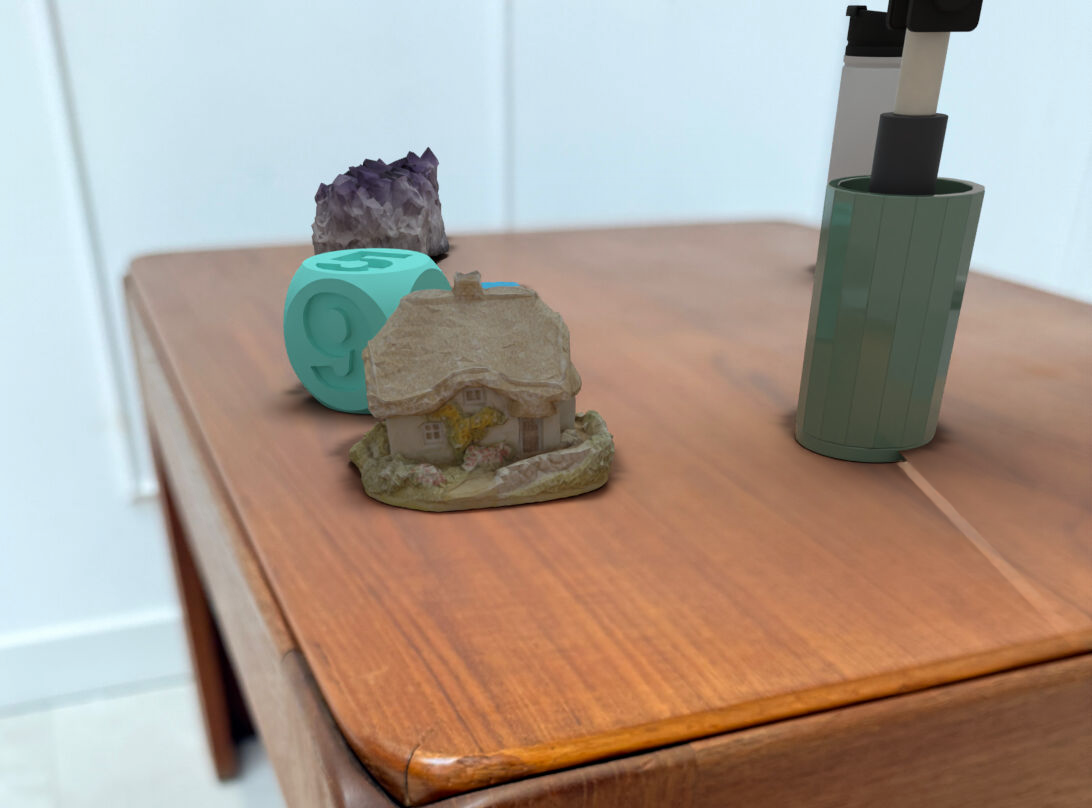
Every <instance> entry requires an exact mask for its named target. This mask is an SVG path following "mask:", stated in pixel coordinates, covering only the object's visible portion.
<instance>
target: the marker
mask: <svg viewBox="0 0 1092 808" xmlns="http://www.w3.org/2000/svg"><path fill="white" fill-rule="evenodd" d="M951 33H952V32H911V31H909V30H908V29H906V35H905V42H904V48H903V54H902V60H901V67H900V73H899V79H898V85H897V92H896V98H895V104H894V110H893V112H887V113H882V114H880V119H879V125H878V132H877V138H876V144H875V151H874V157H873V164H872V170H871V177H870V183H869V190H868V192H870V193H880V194H894V195H934V192H935V187H936V181H937V177H939V170H940V165H941V160H942V155H943V154H942V153H943V149H944V143H945V139H946V134H947V133H946V132H947V126H948V122H949V115H948V114H946V113H940V112H937V110H938V105H939V98H940V94H941V87H942V83H943V76H944V71H945V66H946V60H947V54H948V49H949V43H950V38H951Z"/></svg>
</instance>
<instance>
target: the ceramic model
mask: <svg viewBox="0 0 1092 808" xmlns="http://www.w3.org/2000/svg"><path fill="white" fill-rule="evenodd" d="M452 278H453V289H452V290H451V291H448V290H441V289H428V290H420V291H414V292H412V293H409V294H407V295H406V296H403V297H402V298H401V299H400V303H399V305H398V307H397V308H396V310H395V311H394V313H393V314H392V315H391V316H390V317H389V318H388V320H387V322H386V323H385V325H384V326H383V327H382V329H381V330H380V331H379V332H378V333H377V334H376V336H375V337H374V338H373V339H372V340H369V341H368V344H367V347H366V348H365V349H363V351H362V356H361V357H362V359H363V361H364V369H365V383H366V390H367V395H366V396H367V401H368V408H369V411H370V412H371V414H370V415H372V417H374V418H375V419H378V420H379V419H380V420H384V421H382V422H381V421H377V422H375V424H374V425H373V427H372V428H370V429H369V430H367V431H366V432H364V434H363V436H364V437H363V438H362V439H361V440H359V441H357V442H355V443H354V444H353V445H352V447H351V448H350V450H349V453H348V456H347V459H349V460H350V461H351V462H352V463H353V464H354V465H355V466H356V467H357V468H358V470H359V472H360V474H361V478H360V479H361V483H362V485H363V487H364V491H365V493H366V494H367V496H369V497H370V498H373V499H375V500H376V501H379V502H383V504H388V505H391V506H394V507H395V506H396V507H401V508H407V509H411V510H420V511H425V512H428V511H429V512H437V513H440V512H448V511H463V510H471V509H483V508H491V507H493V508H496V507H502V506H514V505H521V504H527V503H529V504H531V503H535V502H539V503H540V502H545V501H550V500H551V501H552V500H557V499H561V498H562V499H563V498H568V497H572V496H573V497H574V496H578V495H580V494H584V493H588V492H590V491H594V490H596V489H599V488H600V487H602V486H603V485H605V484H607V482H608V480H609V475H610V472H611V470H612V463H613V462H614V456H615V453H616V449H615V443H614V441H613V439H614V435H613V434H612V433H611V432H609V428H608V425H607V422H606V421H605V419H604V418H603V417H602V415H601V414H600V413H599V411H596V410H594V409H589V410H587V411H586V412H585V414H584V413H583V411H580V412H576V411H577V409H576V406H577V404H576V403H577V401H576V396H577V395H578V394H579V393H580V392H581V390H582V387H583V381H582V377H581V375H580V373H579V372H578V370H577V368H576V367H575V365H574V363H573V361H572V360H571V340H570V339H571V337H570V330H569V327H568V325H567V323H566V322H565V321H564V317H563V315H561V313H560V312H559V311H555V310H553V309H552V308H551V307H550V306H549V305H548V304H547V303H546V302H545V301H543V300H542V299H541V297H540V296H539V293H538V292H537V291H536V290H534V289H533V288H527V287H525V286H522V285H520V286H498V287H491V288H487V289H484V288H482V285H481V282H482V274H481V273H480V271H479V270H478V269H477V270H474V271H470V272H467V273H462V272H459V271H456V272H455V273H454V275H453V277H452Z"/></svg>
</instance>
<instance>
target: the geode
mask: <svg viewBox="0 0 1092 808" xmlns="http://www.w3.org/2000/svg"><path fill="white" fill-rule="evenodd" d="M362 161H363V162H362V164H361V163H360V164H359V165H357V166H354V165H352V166H348V170H347V171H346V172H345V173H339V174H337V175H336V177H335V178H334V179H333V181H332V182H331V183H329V184H325V183H324V182H320V183H319V185H318V189H317V191H316V193H315V195H314V197H313V198H314V202H315V204H316V206H315V207H316V208H315V216H314V221H313V223H312V224H311V225H310V227H311V229H312V232H313V233H312V235H311V240H312V241H311V243H312V246H313V251H314V256H315V255H319V254H323V253H328V252H333V251H341V250H350V249H367V248H387V249H402V250H410V251H416V252H420V253H423V254H425V255H427V256H429V257H437V256H439V255H442V254H443V255H444V254H447V253H448V252H449V249H450V244H449V240H448V237H447V234H446V228H445V222H444V219H443V215H442V202H441V199H440V194H439V190H440V185H439V182H438V166H439V165H440V162H439V159H438V157H437V156H436V155H435V153H434V152H433V150H432V149H431V148H430V147H429V146H427V147H426V148H425V150H424V152H423V153H422V154H421V156H419V155H418V154H416V153H415V152H413V151H410V150H409V151H408V152H407V154H406V156H404V157H402V158H399V159H396V160H394V161H392V162H389V163H388V164H387V163H386V162H385V161H383V160H382V158H380V157H379V158H378V159H377V160H374V159H369V158H365V159H364V160H362Z"/></svg>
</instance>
